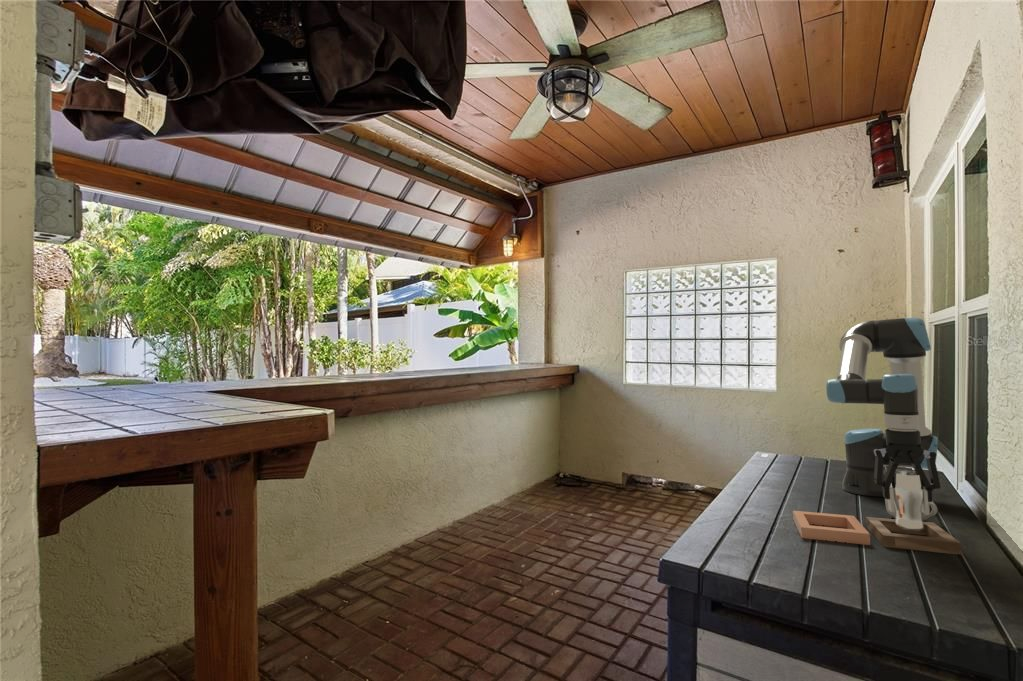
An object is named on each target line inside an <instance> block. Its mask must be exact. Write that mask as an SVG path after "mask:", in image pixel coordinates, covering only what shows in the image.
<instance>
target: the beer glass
mask: <svg viewBox="0 0 1023 681" xmlns="http://www.w3.org/2000/svg"><path fill="white" fill-rule="evenodd" d="M891 488H893V491H894V503H895V507H896V521H895V525H896V526H898V527H900V528H903V529H908V530H915V531H919V530H923V529H924V526H923V523H922V519H921V509H922V503H923V489H924V487H923V482H922V477H921V474H919V475H917V474H916V472H915V470H910V469H909V470H907V469H896V472H895V473H894V477H893V480H892V482H891Z"/></svg>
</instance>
